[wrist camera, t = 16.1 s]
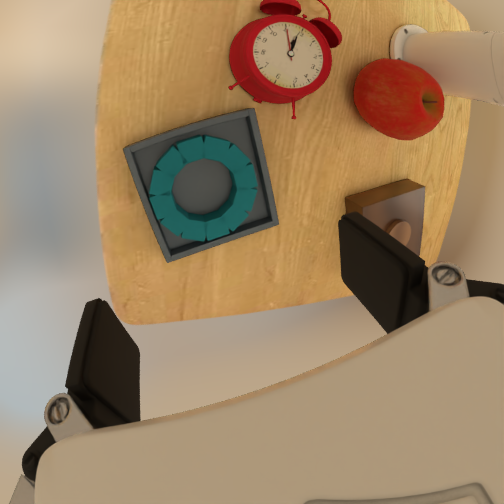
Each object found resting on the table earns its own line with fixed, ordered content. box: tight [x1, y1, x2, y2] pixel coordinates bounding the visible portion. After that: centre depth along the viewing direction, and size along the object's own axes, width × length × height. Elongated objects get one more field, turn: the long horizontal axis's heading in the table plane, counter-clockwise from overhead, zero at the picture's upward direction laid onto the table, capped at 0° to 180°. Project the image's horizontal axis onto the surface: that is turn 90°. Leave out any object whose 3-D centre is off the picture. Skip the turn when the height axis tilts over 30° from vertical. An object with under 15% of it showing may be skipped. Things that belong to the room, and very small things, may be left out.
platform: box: [345, 179, 425, 256], centre depth 38 cm, size 12×12×5 cm
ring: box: [149, 135, 258, 241], centre depth 28 cm, size 11×11×2 cm
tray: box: [123, 108, 279, 263], centre depth 29 cm, size 13×13×2 cm
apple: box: [353, 58, 444, 140], centre depth 25 cm, size 10×10×10 cm
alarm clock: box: [228, 0, 342, 119], centre depth 23 cm, size 10×6×15 cm
